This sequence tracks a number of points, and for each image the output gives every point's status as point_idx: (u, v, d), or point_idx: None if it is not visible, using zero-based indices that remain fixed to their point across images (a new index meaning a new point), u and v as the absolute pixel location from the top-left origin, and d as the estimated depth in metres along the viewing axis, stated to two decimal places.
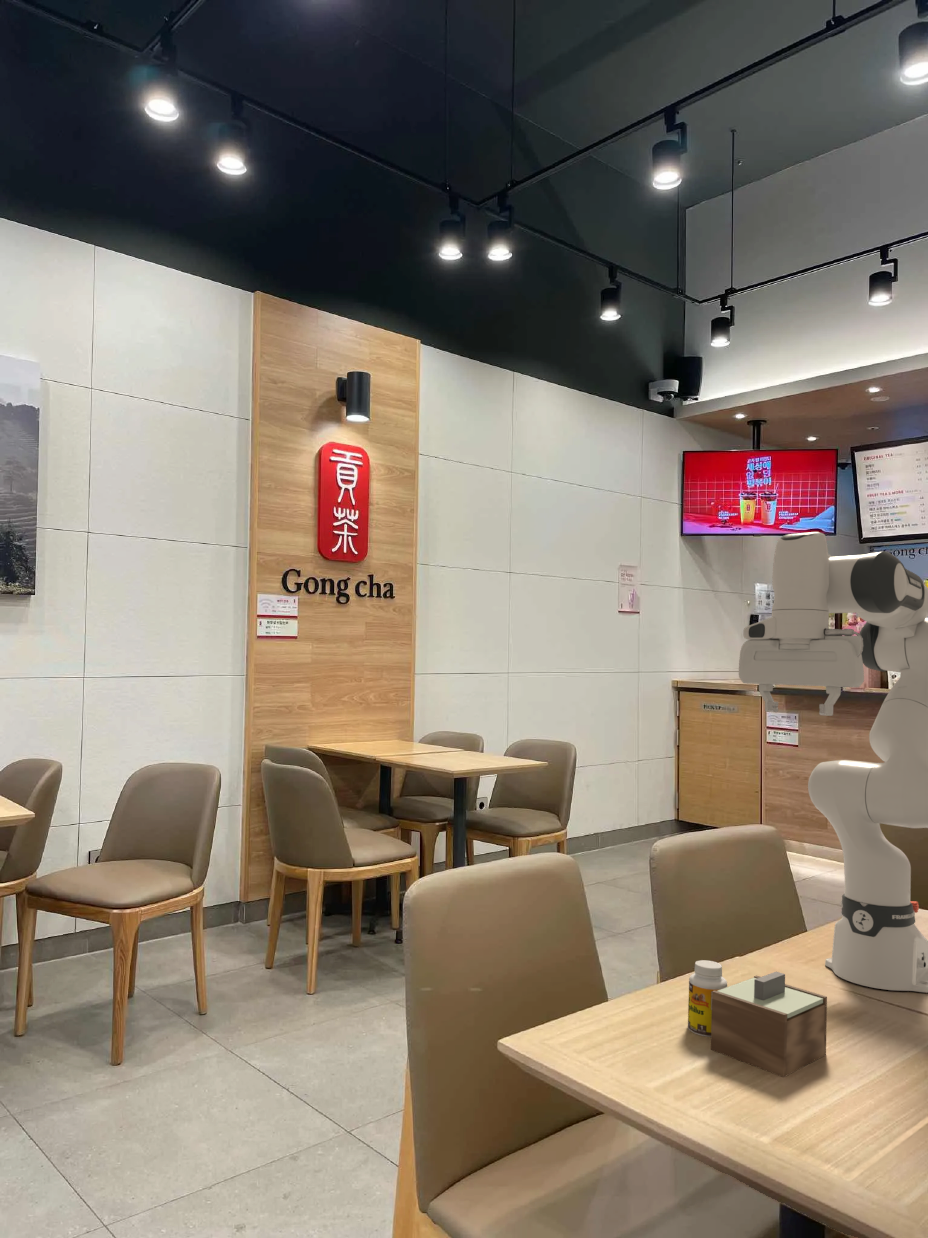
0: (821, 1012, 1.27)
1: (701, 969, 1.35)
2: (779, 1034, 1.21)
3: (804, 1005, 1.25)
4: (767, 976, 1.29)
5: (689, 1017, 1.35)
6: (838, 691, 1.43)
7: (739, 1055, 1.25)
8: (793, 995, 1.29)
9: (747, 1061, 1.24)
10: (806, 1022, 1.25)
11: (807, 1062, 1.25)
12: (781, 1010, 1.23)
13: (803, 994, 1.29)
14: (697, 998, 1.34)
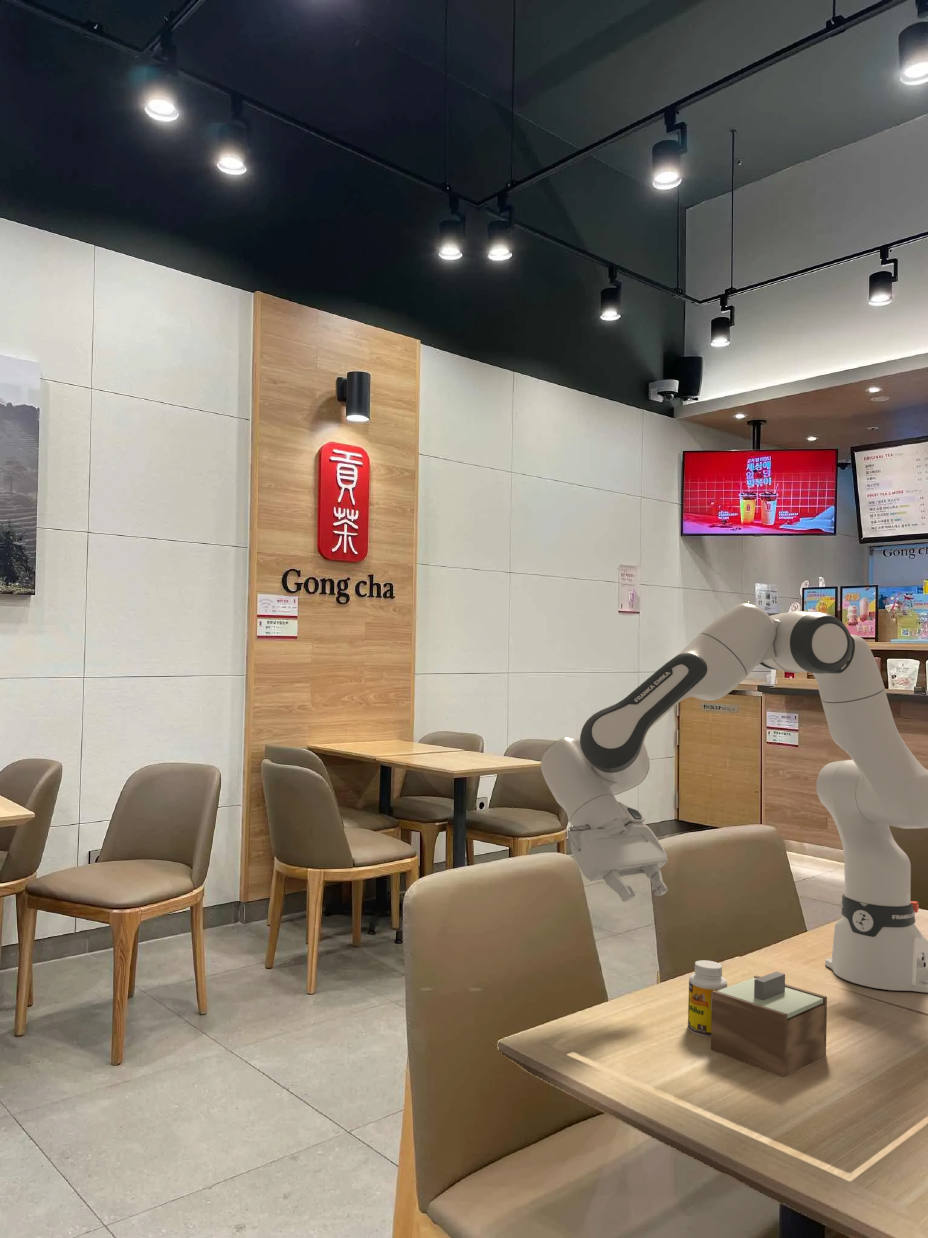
0: (821, 1012, 1.27)
1: (701, 969, 1.35)
2: (779, 1034, 1.21)
3: (804, 1005, 1.25)
4: (767, 976, 1.29)
5: (689, 1017, 1.35)
6: (611, 877, 1.42)
7: (739, 1055, 1.25)
8: (793, 995, 1.29)
9: (747, 1061, 1.24)
10: (806, 1022, 1.25)
11: (807, 1062, 1.25)
12: (781, 1010, 1.23)
13: (803, 994, 1.29)
14: (696, 998, 1.34)
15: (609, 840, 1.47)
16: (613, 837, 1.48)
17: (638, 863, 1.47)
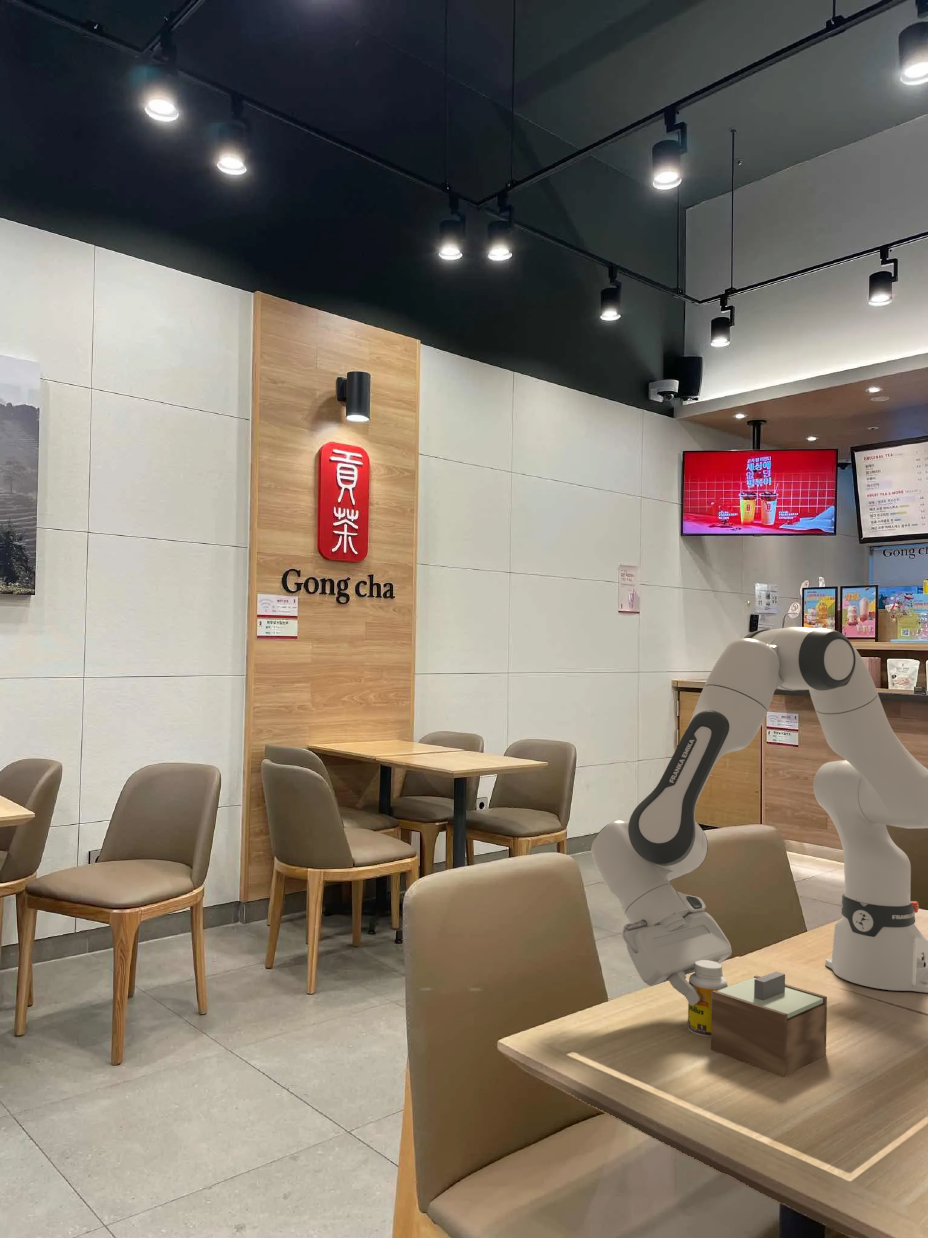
0: (821, 1012, 1.27)
1: (701, 969, 1.35)
2: (779, 1034, 1.21)
3: (804, 1005, 1.25)
4: (767, 976, 1.29)
5: (689, 1017, 1.35)
6: (676, 980, 1.34)
7: (739, 1055, 1.25)
8: (793, 995, 1.29)
9: (747, 1061, 1.24)
10: (806, 1022, 1.25)
11: (807, 1062, 1.25)
12: (781, 1010, 1.23)
13: (803, 994, 1.29)
14: None
15: (668, 937, 1.38)
16: (672, 933, 1.39)
17: None
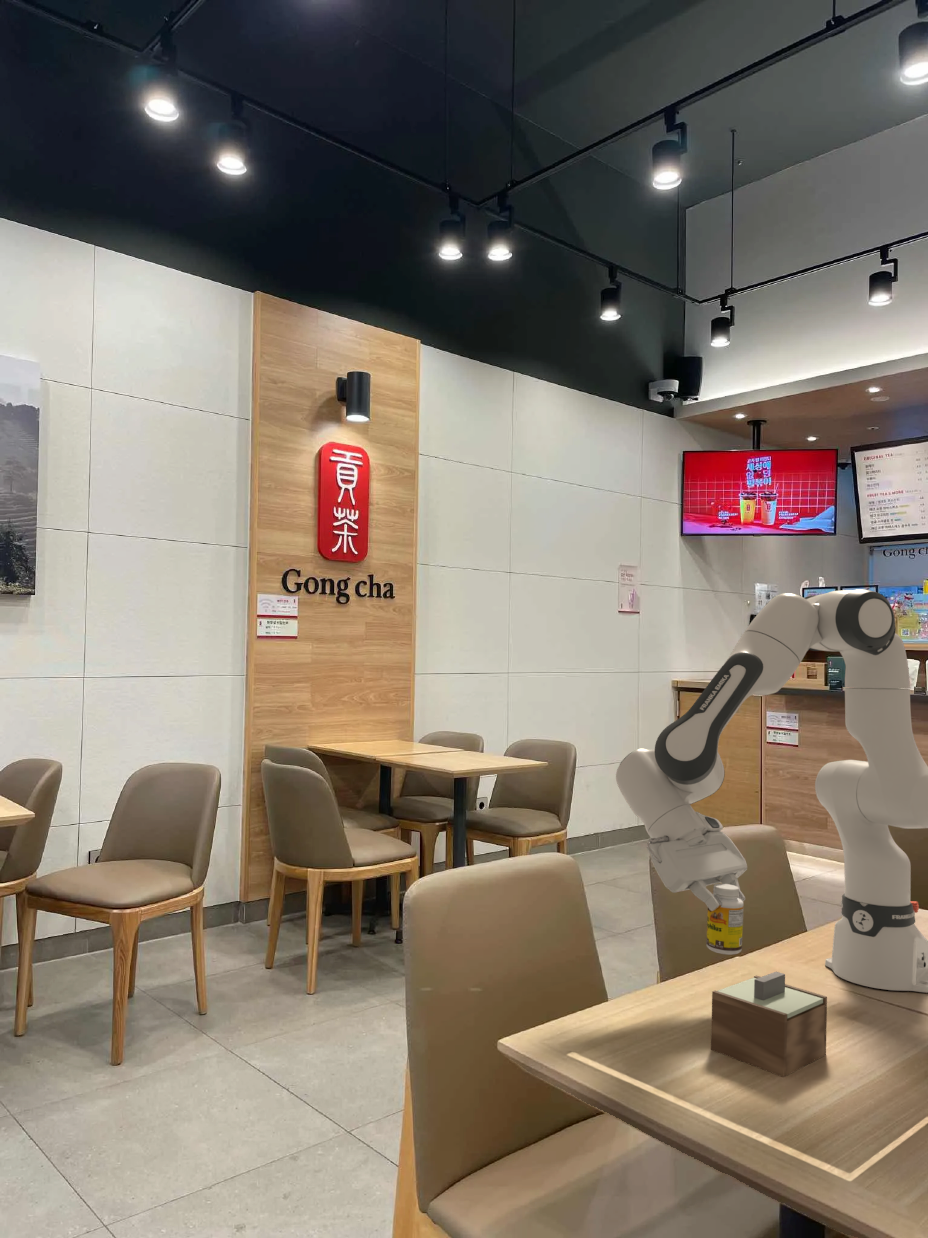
0: (821, 1012, 1.27)
1: (719, 890, 1.46)
2: (779, 1034, 1.21)
3: (804, 1005, 1.25)
4: (767, 976, 1.29)
5: (708, 934, 1.46)
6: (697, 887, 1.45)
7: (739, 1055, 1.25)
8: (793, 995, 1.29)
9: (747, 1061, 1.24)
10: (806, 1022, 1.25)
11: (807, 1062, 1.25)
12: (781, 1010, 1.23)
13: (803, 994, 1.29)
14: (715, 916, 1.45)
15: (689, 850, 1.49)
16: (692, 847, 1.50)
17: (719, 872, 1.49)
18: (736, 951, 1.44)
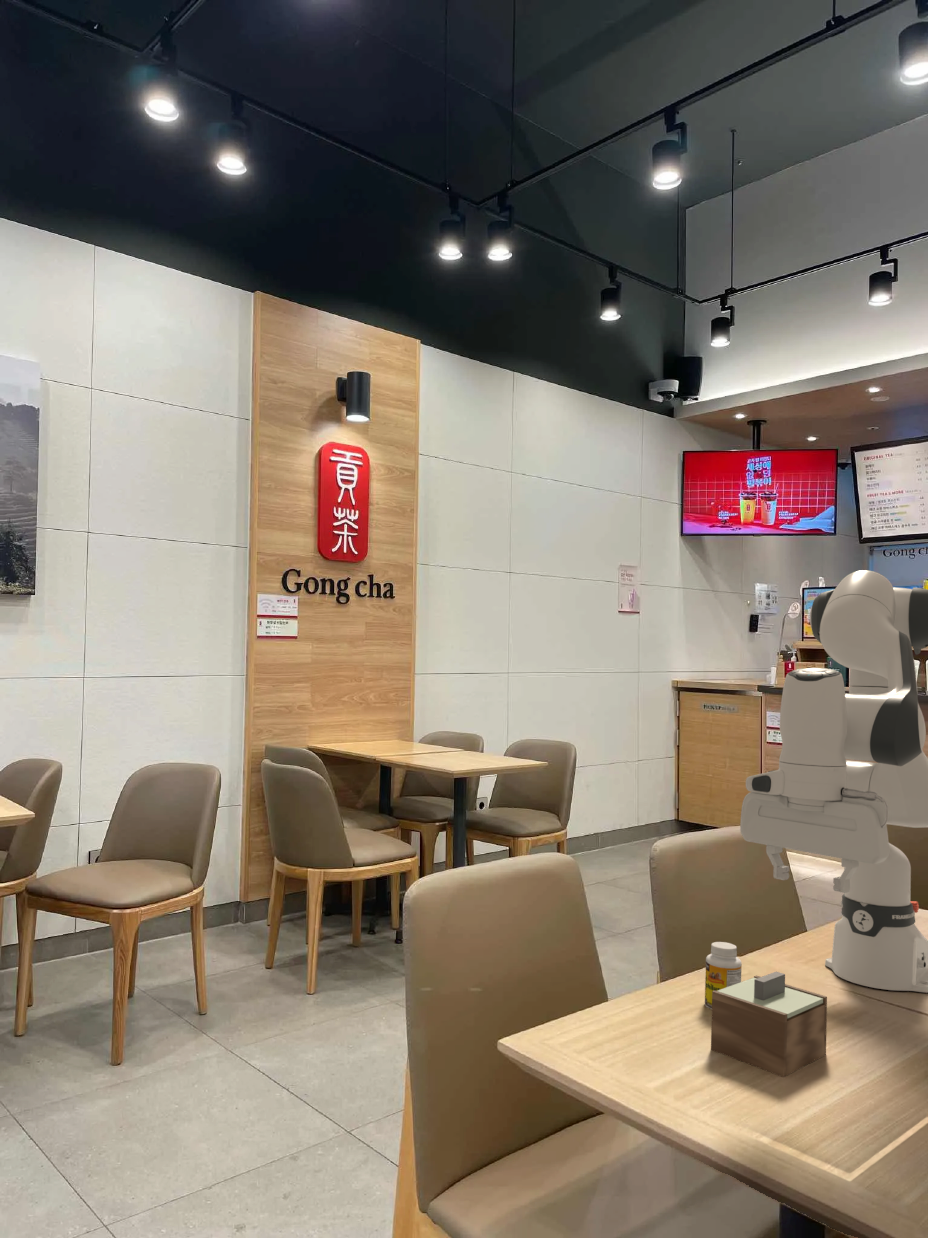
0: (821, 1012, 1.27)
1: (717, 949, 1.45)
2: (779, 1034, 1.21)
3: (804, 1005, 1.25)
4: (767, 976, 1.29)
5: (706, 994, 1.46)
6: (856, 864, 1.21)
7: (739, 1055, 1.25)
8: (793, 995, 1.29)
9: (747, 1061, 1.24)
10: (806, 1022, 1.25)
11: (807, 1062, 1.25)
12: (781, 1010, 1.23)
13: (803, 994, 1.29)
14: (713, 977, 1.44)
15: None
16: None
17: None
18: None
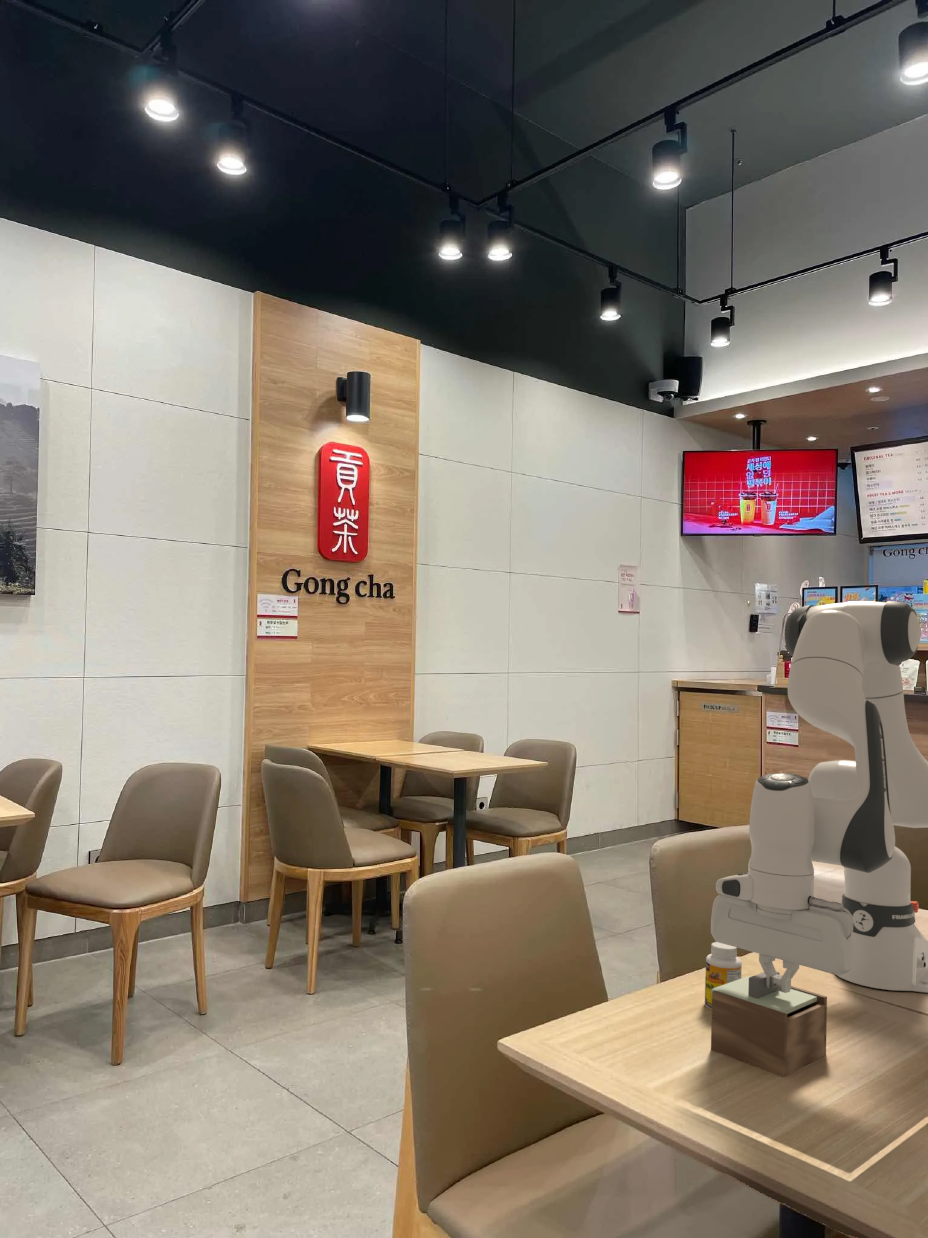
0: (821, 1012, 1.27)
1: (717, 949, 1.45)
2: (779, 1034, 1.21)
3: (798, 1003, 1.26)
4: (761, 974, 1.30)
5: (706, 994, 1.46)
6: (796, 966, 1.26)
7: (739, 1055, 1.25)
8: (787, 993, 1.29)
9: (747, 1061, 1.24)
10: (806, 1022, 1.25)
11: (807, 1062, 1.25)
12: (775, 1008, 1.23)
13: (797, 992, 1.30)
14: (713, 976, 1.44)
15: None
16: None
17: None
18: None
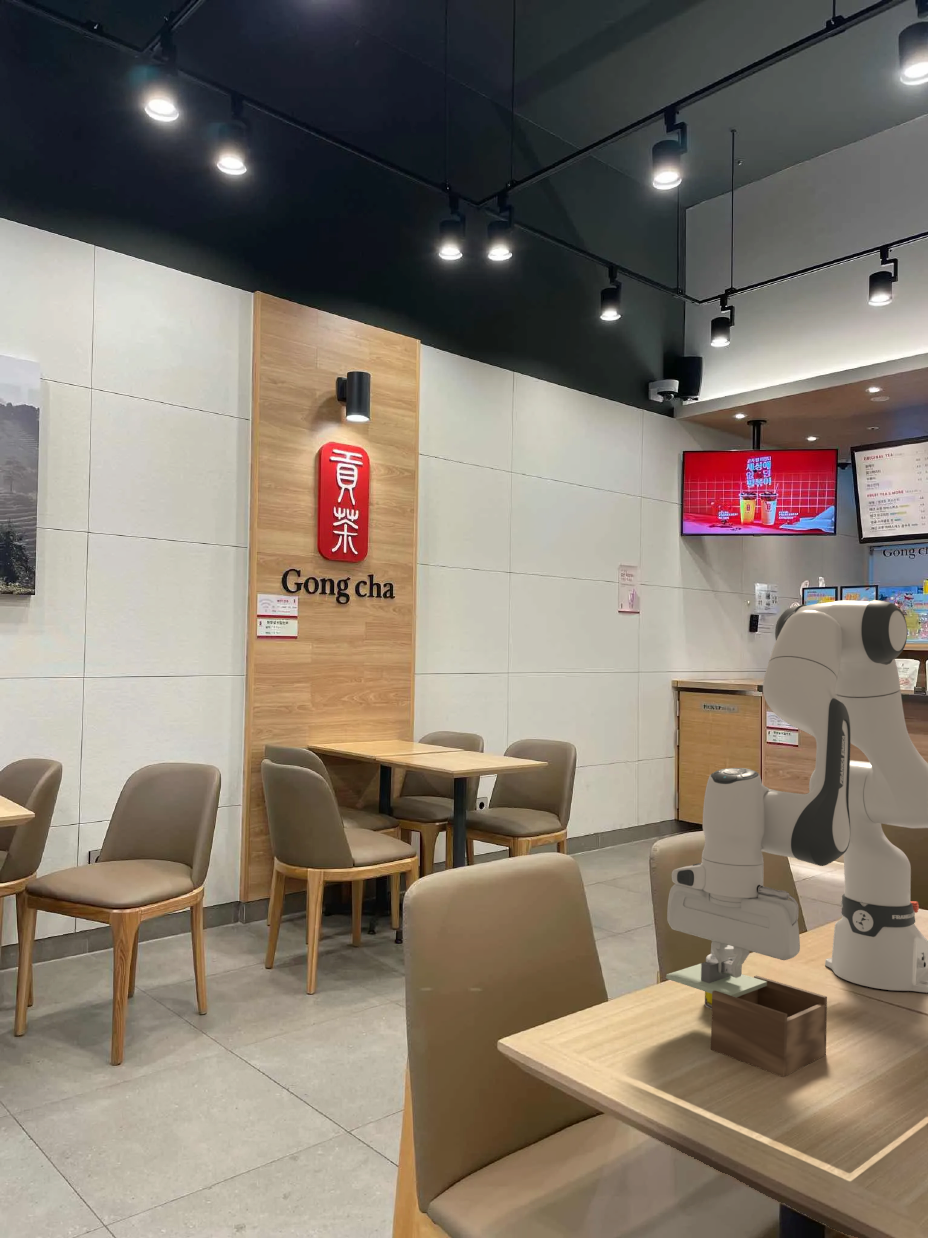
0: (821, 1012, 1.27)
1: None
2: (779, 1034, 1.21)
3: (748, 987, 1.31)
4: (714, 960, 1.35)
5: (706, 994, 1.46)
6: (746, 952, 1.32)
7: (739, 1055, 1.25)
8: (739, 978, 1.35)
9: (747, 1061, 1.24)
10: (806, 1022, 1.25)
11: (807, 1062, 1.25)
12: (725, 992, 1.29)
13: (748, 977, 1.36)
14: None
15: None
16: None
17: None
18: None
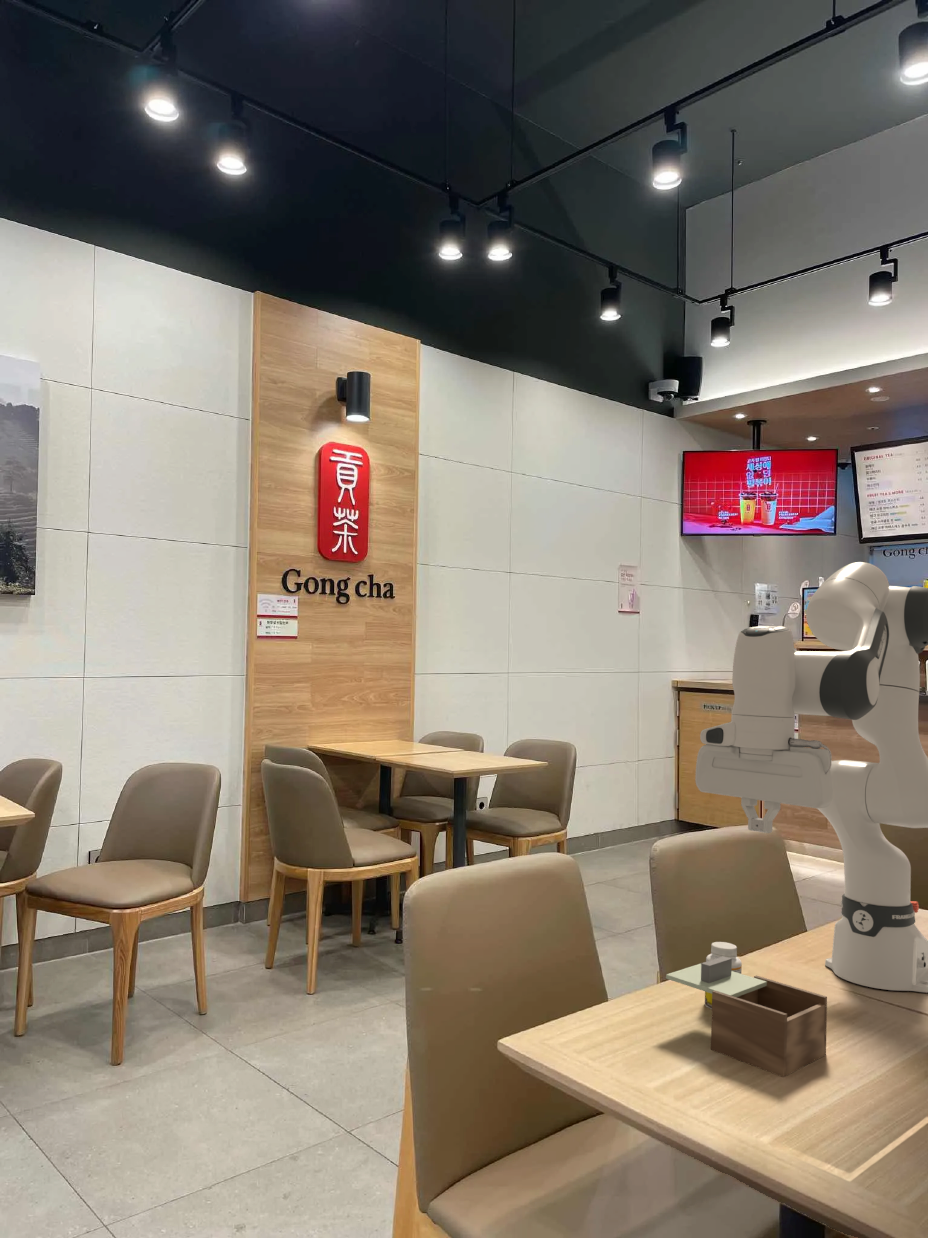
0: (821, 1012, 1.27)
1: (717, 949, 1.45)
2: (779, 1034, 1.21)
3: (747, 987, 1.31)
4: (714, 960, 1.35)
5: (706, 994, 1.46)
6: (777, 806, 1.30)
7: (739, 1055, 1.25)
8: (739, 978, 1.35)
9: (747, 1061, 1.24)
10: (806, 1022, 1.25)
11: (807, 1062, 1.25)
12: (725, 992, 1.29)
13: (748, 977, 1.36)
14: None
15: None
16: None
17: None
18: None
